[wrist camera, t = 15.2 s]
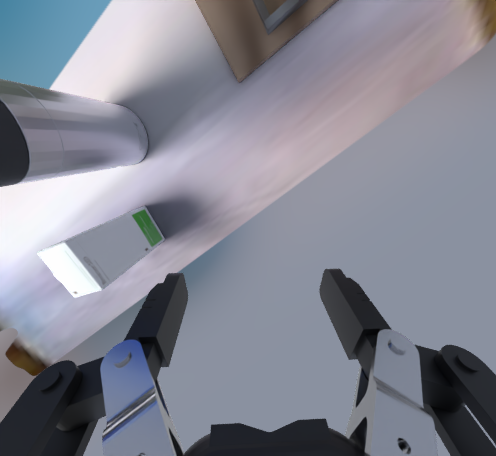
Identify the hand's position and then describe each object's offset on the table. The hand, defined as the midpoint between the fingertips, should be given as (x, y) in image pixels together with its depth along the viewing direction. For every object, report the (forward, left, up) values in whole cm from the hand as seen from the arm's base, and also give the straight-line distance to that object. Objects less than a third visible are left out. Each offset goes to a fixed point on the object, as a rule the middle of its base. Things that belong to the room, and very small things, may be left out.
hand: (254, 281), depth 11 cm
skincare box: (-26, -10, -24) cm, 37 cm away
